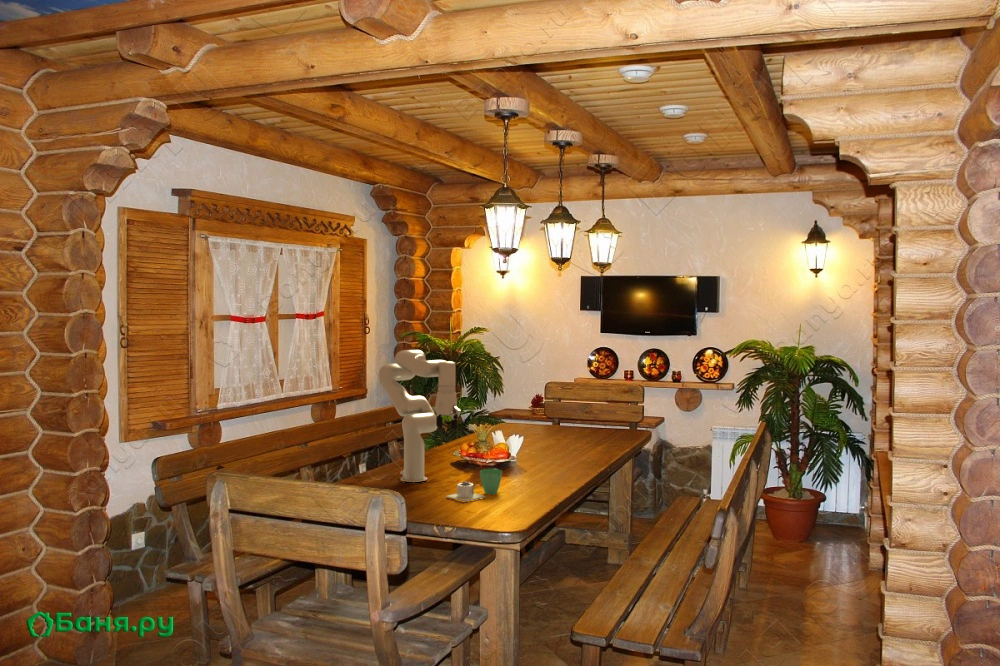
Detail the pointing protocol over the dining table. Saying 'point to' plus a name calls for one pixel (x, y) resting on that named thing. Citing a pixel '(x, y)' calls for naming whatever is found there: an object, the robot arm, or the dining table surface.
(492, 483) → the mug
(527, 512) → the dining table surface
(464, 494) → the white hollow cylinder
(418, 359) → the robot arm
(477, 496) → the square base peg stand
